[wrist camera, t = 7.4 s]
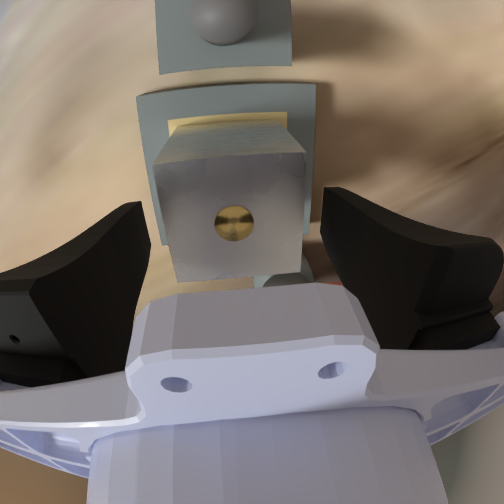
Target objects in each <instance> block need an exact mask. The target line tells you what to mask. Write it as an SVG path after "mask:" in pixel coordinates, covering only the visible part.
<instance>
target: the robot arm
mask: <svg viewBox="0 0 504 504" xmlns="http://www.w3.org/2000/svg"><path fill="white" fill-rule="evenodd" d="M320 233H321V236H322V240H323V243H324V246H325V249H326V251H327V254H328V256H329V258H330V260H331V262H332V264H333V266H334V268H335V270H336V272H337V274H338V276H339V278H340V280H341V282H342V284H343V286H344V287H343V286H342V285H332V284H323V283H305V284H295V285H285V286H274V287H263V288H251V289H239V290H226V291H212V292H198V293H183V294H175V295H172V296H168V297H165V298H161V299H157V300H154V301H150V302H149V303H148V304H147V306H146V307H145V308H144V309H143V310H142V311H141V312H140V313H139V314H138V316H137V317H136V319H135V324H134V328H133V320H134V314H135V310H136V306H137V302H138V298H139V295H140V291H141V288H142V284H143V281H144V278H145V274H146V271H147V267H148V263H149V257H150V249H151V242H150V238H149V234H148V230H147V225H146V221H145V217H144V212H143V208H142V203H141V201H137V202H129V203H125V204H123V205H121V206H120V207H118V208H117V209H115V210H114V211H112V212H111V213H109V214H108V215H107V216H105V217H104V218H102V219H101V220H100V221H98V222H97V223H96V224H94V225H93V226H91V227H90V228H88V229H87V230H85V231H84V232H83V233H81V234H80V235H78V236H77V237H75V238H74V239H72V240H70V241H69V242H67V243H65V244H64V245H62V246H60V247H59V248H57V249H55V250H53V251H51V252H49V253H47V254H45V255H43V256H41V257H39V258H37V259H35V260H33V261H31V262H28V263H26V264H24V265H21V266H19V267H16V268H14V269H11V270H8V271H5V272H2V273H0V447H1V448H3V449H6V450H8V451H11V452H13V453H15V454H18V455H20V456H23V457H26V458H28V459H31V460H33V461H36V462H39V463H41V464H44V465H47V466H50V467H53V468H56V469H59V470H62V471H65V472H68V473H71V474H75V475H78V476H81V477H85V478H89V481H88V492H87V504H449V503H448V500H447V496H446V493H445V490H444V486H443V483H442V480H441V477H440V474H439V471H438V468H437V465H436V462H435V459H434V456H433V453H432V450H431V447H430V445H432V444H434V443H436V442H438V441H440V440H442V439H444V438H446V437H448V436H450V435H452V434H453V433H455V432H457V431H459V430H461V429H462V428H464V427H466V426H468V425H470V424H471V423H473V422H475V421H476V420H478V419H480V418H481V417H483V416H484V415H486V414H488V413H490V412H491V411H493V410H494V409H496V408H497V407H499V406H501V405H502V404H504V311H503V312H501V313H499V314H498V315H497V316H495V318H494V317H493V315H492V314H491V313H490V310H492V308H493V304H492V303H491V302H490V300H489V299H488V298H489V296H490V294H491V292H492V291H493V289H494V287H495V285H496V283H497V281H498V279H499V276H500V274H501V271H502V268H503V263H504V253H503V251H502V249H501V247H500V246H499V245H498V244H497V243H496V242H495V241H494V240H493V239H491V238H487V237H481V236H474V235H467V234H461V233H457V232H452V231H448V230H444V229H440V228H436V227H433V226H430V225H426V224H423V223H420V222H417V221H414V220H412V219H409V218H407V217H404V216H401V215H399V214H397V213H394V212H392V211H390V210H388V209H386V208H383V207H381V206H379V205H377V204H375V203H373V202H371V201H369V200H367V199H365V198H363V197H361V196H359V195H357V194H355V193H353V192H351V191H348V190H346V189H343V188H340V187H324V194H323V205H322V216H321V227H320ZM132 328H133V332H132ZM131 336H132V337H131Z"/></svg>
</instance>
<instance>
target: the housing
mask: <svg viewBox="0 0 504 504" xmlns="http://www.w3.org/2000/svg"><path fill="white" fill-rule="evenodd" d="M152 167H153V173H154V178H155V183H156V189H157V194H158V199H159V204H160V209H161V214H162V218H163V223H164V228H165V232H166V237H167V241H168V245H169V250H170V254H171V258H172V262H173V266H174V270H175V274H176V278H177V282H178V283H179V282H192V281H205V280H217V279H229V278H241V277H252V276H263V275H274V274H285V273H295V272H300V268H301V254H302V239H303V223H304V203H305V181H306V151H305V150H304V149H303V148H302V146H301V145H300V144H299V143H298V142H297V141H296V140H295V138H294V137H293V136H292V135H291V134H290V133H289V132H288V131H287V130H286V128H285V127H284V126H283V125H282V124H281V123H280V122H279V121H278V120H277V119H276V118H274V119H251V120H235V121H222V122H211V123H201V124H192V125H184V126H177V127H176V129H175V130H174V132H173V133H172V135H171V136H170V138H169V139H168V141H167V142H166V144H165V145H164V147H163V148H162V150H161V151H160V153H159V155H158V156H157V158H156V159H155V161H154V162H153V164H152Z"/></svg>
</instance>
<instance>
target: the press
mask: <svg viewBox="0 0 504 504" xmlns="http://www.w3.org/2000/svg"><path fill="white" fill-rule="evenodd" d="M155 11H156V32H157V48H158V61H159V73H160V75H161V74H168V73H175V72H183V71H191V70H200V69H211V68H224V67H242V66H292V34H291V1H290V0H155ZM136 102H137V110H138V117H139V124H140V131H141V138H142V145H143V151H144V157H145V163H146V169H147V174H148V180H149V185H150V190H151V196H152V201H153V206H154V211H155V215H156V220H157V225H158V229H159V234H160V238H161V243H162V245H168V241H167V237H166V232H165V228H164V223H163V218H162V214H161V209H160V204H159V199H158V194H157V189H156V183H155V178H154V173H153V167H152V164H153V162H154V161H155V159H156V158H157V156H158V155H159V153H160V151H161V150H162V148H163V147H164V145H165V144H166V142H167V141H168V139H169V138H170V136H171V135H172V133H173V132H174V130H175V129H176V127H177V126H184V125H192V124H201V123H211V122H222V121H235V120H251V119H274V118H276V119H277V120H278V121H279V122H280V123H281V124H282V125H283V126H284V127H285V128H286V130H287V131H288V132H289V133H290V134H291V135H292V136H293V137H294V138H295V140H296V141H297V142H298V143H299V144H300V145H301V146H302V148H303V149H304V150H305V151H306V181H305V203H304V223H303V235H306V234H309V224H310V211H311V196H312V181H313V163H314V142H315V113H316V84H312V83H297V82H258V83H234V84H219V85H207V86H197V87H188V88H180V89H172V90H165V91H159V92H152V93H146V94H141V95H139V96H137V97H136ZM297 273H300V274H302V275H304V276H305V277H306V278H307V279H308V281H309V283H315V281H314V277H313V274H312V271H311V269H310V266H309V263H308V261H307V258H306V256H305V254H304V253H303V252H302V254H301V268H300V272H297ZM274 275H276V274H274ZM274 275H263V276H253V282H254V288H262V287H263V285H264V283H265V282H266V281H267V280H268V279H269V278H271V277H272V276H274Z"/></svg>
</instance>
